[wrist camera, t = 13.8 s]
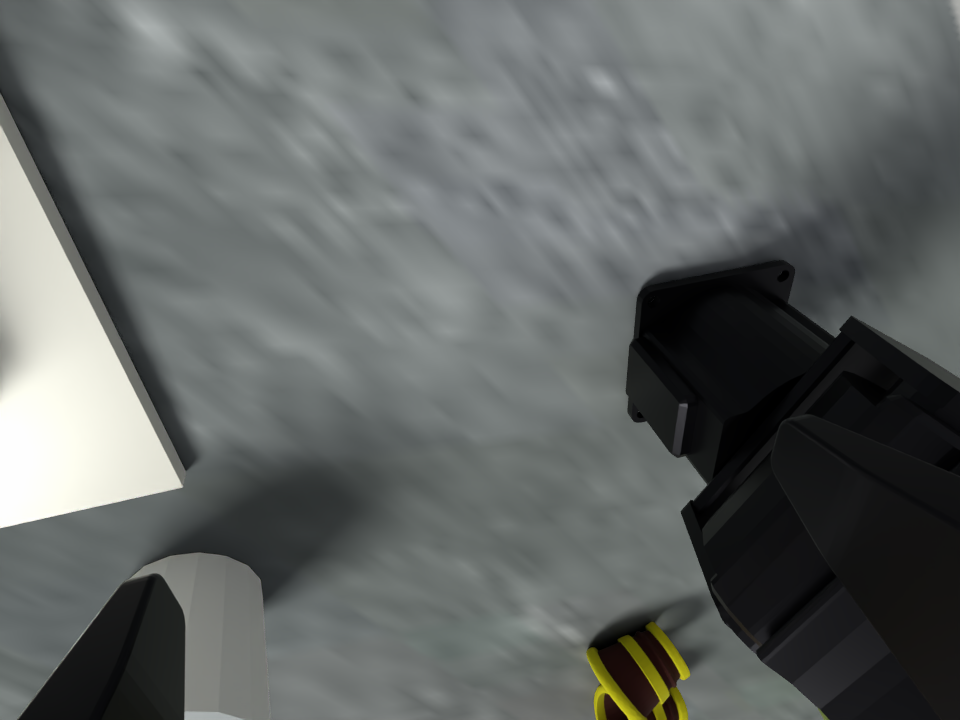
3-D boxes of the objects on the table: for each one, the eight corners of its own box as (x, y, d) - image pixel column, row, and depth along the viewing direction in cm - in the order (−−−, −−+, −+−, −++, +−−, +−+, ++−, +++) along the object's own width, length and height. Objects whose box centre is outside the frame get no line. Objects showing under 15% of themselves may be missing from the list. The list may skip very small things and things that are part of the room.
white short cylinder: (103, 541, 24) (45, 726, 18) (287, 543, 26) (286, 705, 21) (103, 648, 27) (53, 834, 21) (267, 641, 30) (261, 805, 24)
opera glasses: (649, 674, 43) (698, 741, 40) (586, 713, 42) (631, 787, 38) (647, 597, 38) (704, 667, 34) (574, 640, 36) (625, 718, 33)
